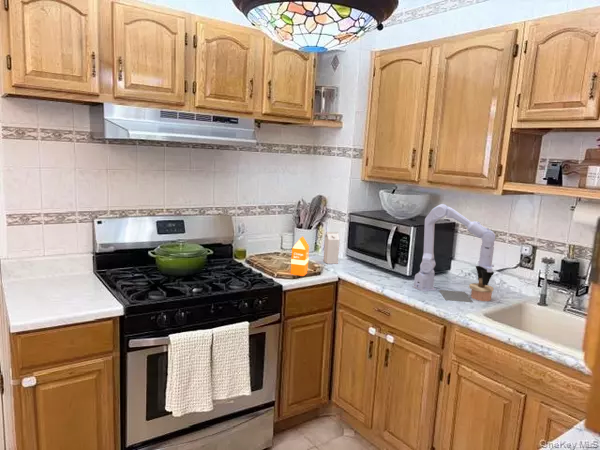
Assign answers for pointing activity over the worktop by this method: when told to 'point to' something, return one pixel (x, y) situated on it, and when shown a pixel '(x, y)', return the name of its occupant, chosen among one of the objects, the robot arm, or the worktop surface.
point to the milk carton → (331, 248)
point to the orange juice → (300, 258)
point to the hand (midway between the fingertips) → (482, 282)
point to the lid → (481, 287)
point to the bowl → (481, 295)
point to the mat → (455, 296)
